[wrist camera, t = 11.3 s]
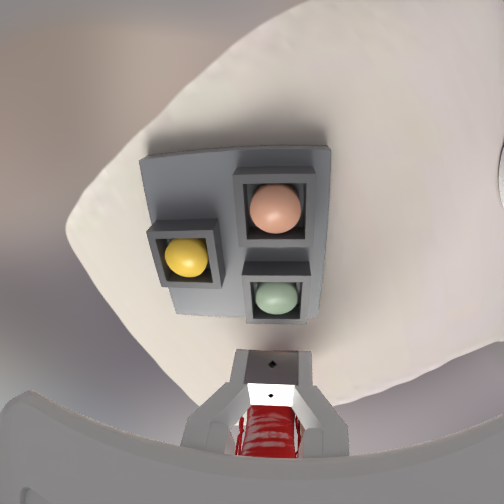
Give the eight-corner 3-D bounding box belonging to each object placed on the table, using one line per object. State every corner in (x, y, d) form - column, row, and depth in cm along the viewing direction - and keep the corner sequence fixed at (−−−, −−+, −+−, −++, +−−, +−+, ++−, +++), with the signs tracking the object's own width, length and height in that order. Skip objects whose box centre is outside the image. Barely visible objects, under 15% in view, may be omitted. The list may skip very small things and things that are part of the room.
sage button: (297, 271, 29) (298, 283, 27) (295, 302, 31) (296, 314, 29) (256, 271, 29) (254, 283, 28) (257, 302, 32) (256, 314, 30)
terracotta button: (299, 179, 24) (301, 186, 22) (299, 223, 26) (300, 233, 24) (250, 180, 24) (248, 187, 22) (253, 223, 26) (251, 233, 25)
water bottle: (323, 360, 40) (330, 512, 19) (311, 384, 44) (312, 515, 23) (248, 353, 40) (226, 511, 19) (245, 379, 45) (226, 512, 24)
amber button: (207, 230, 27) (202, 240, 26) (213, 266, 29) (209, 277, 28) (167, 231, 28) (160, 240, 26) (175, 266, 30) (170, 276, 28)
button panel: (327, 146, 24) (336, 155, 20) (315, 307, 34) (319, 333, 30) (147, 155, 26) (126, 167, 22) (180, 304, 36) (170, 327, 32)
